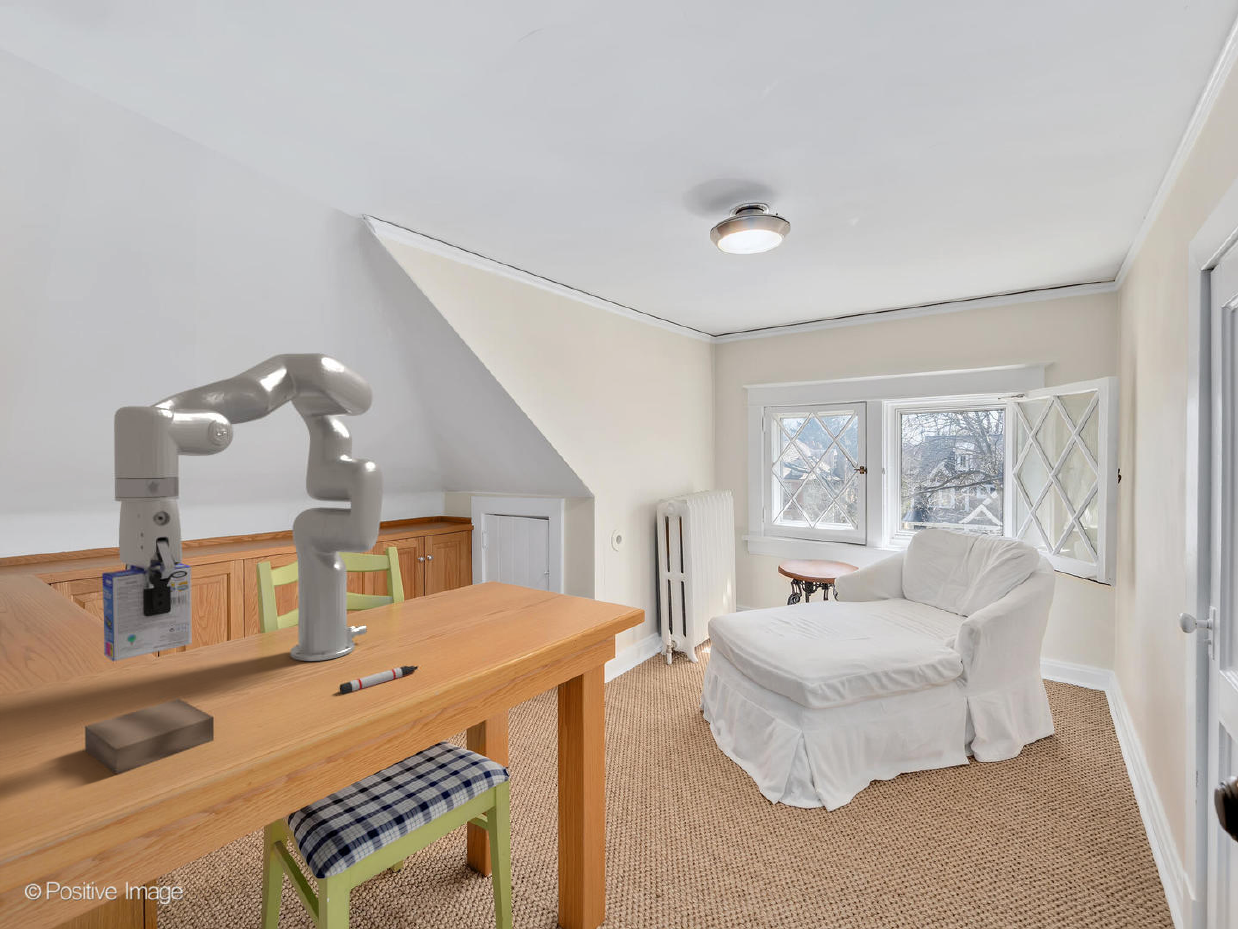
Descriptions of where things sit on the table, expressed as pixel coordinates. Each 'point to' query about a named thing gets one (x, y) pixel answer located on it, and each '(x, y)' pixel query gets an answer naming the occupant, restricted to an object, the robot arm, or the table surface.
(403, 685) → the table surface
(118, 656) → the ink cartridge box
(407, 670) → the marker
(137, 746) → the walnut block
